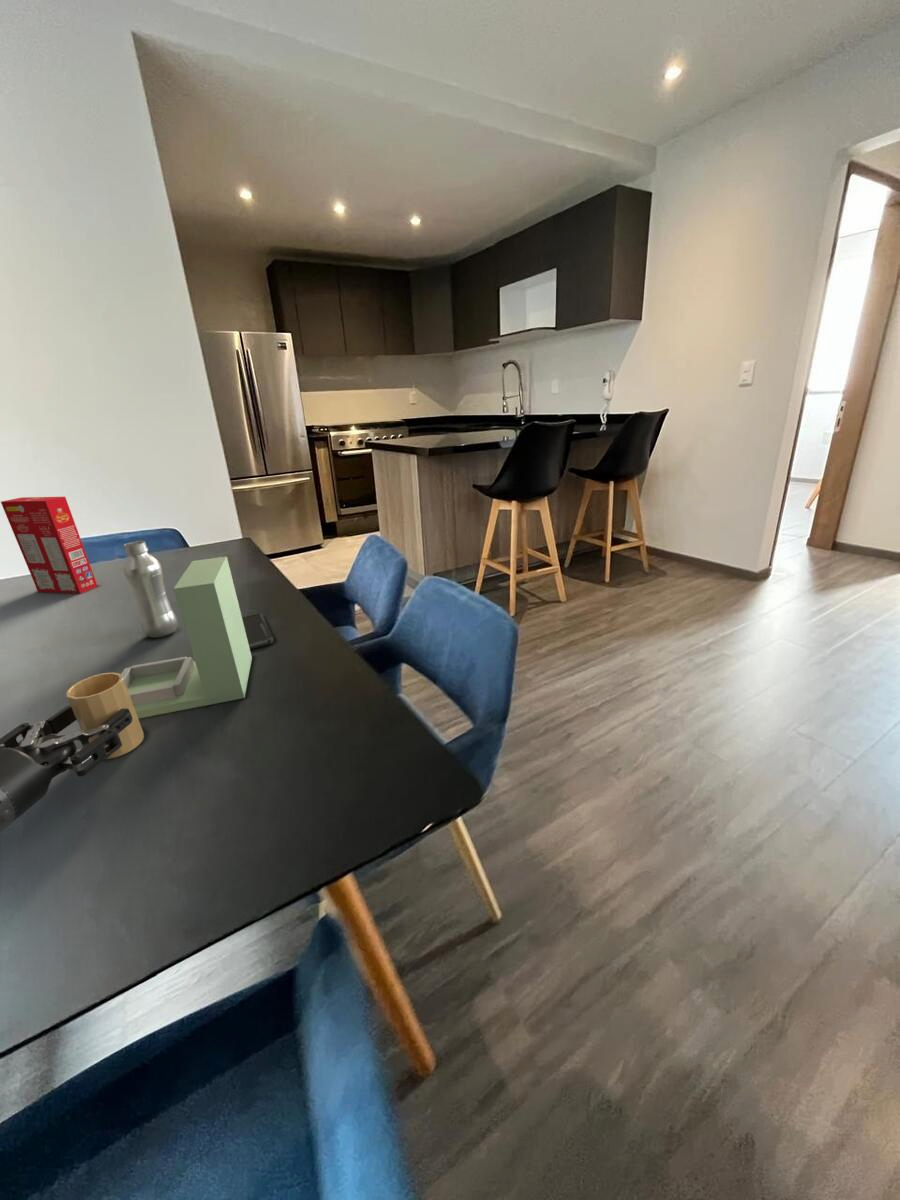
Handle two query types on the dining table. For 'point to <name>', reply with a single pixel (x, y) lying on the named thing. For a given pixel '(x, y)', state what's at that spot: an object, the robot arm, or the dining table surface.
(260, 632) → the phone
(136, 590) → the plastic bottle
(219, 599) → the coffee maker
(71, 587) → the food packaging
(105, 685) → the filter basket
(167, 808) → the dining table surface
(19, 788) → the robot arm
